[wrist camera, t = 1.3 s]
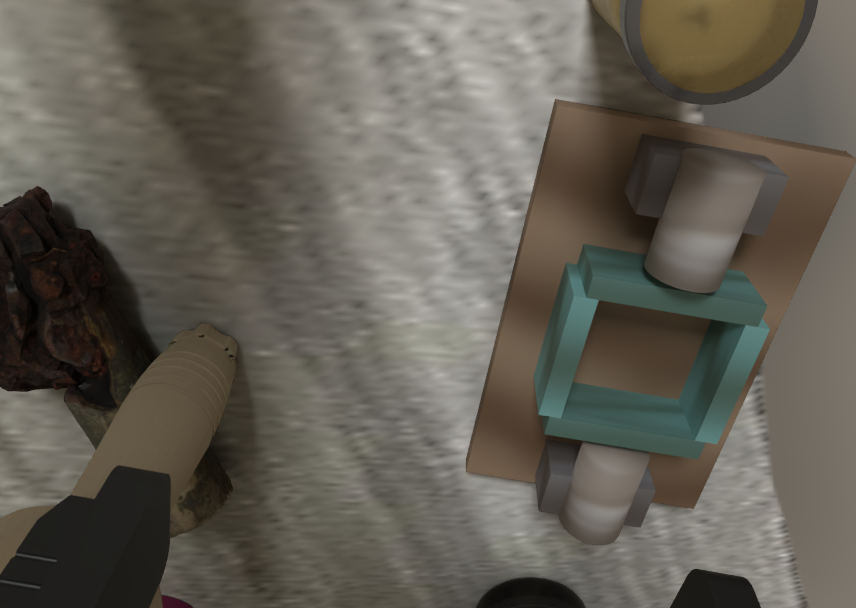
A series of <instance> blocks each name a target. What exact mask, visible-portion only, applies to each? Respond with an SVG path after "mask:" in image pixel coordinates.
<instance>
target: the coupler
mask: <svg viewBox="0 0 856 608" xmlns="http://www.w3.org/2000/svg"><path fill="white" fill-rule="evenodd" d="M591 2H592V4H593V6H594V8H595V10H596V11H597V13H598V14H599V15H600V16H601V17H602V18H603V19H604V20H605V21H606V22H607V23H608V24H609V25H610V26H611V27H612V28H613V29H614V30H615V31H616V32H617V33H618V34H619V35H620V36H621V37H622V39H623V43H624V46H625V49H626V51H627V53H628V55H629V57H630V59H631V60H632V62H633V63H634V65H635V66H636V67H637V68H638V70H639V71H640V72H641V73H642V74H643V75H644V76H645V77H646V78H647V79H648V80H649V81H650V83H651V84H652V85H654V86H655V87H656V88H657V89H659V90H660V91H661V92H663V93H665V94H666V95H668V96H670V97H672V98H675V99H677V100H679V101H683V102H687V103H692V104H701V105H707V104H709V105H710V104H719V103H726V102H730V101H733V100H737V99H739V98H742V97H744V96H747V95H749V94H751V93H753V92H755V91H757V90H759V89H760V88H762V87H763V86H765V85H766V84H768V83H769V82H770V81H772V80H773V79H774V78H775V77H776V76H778V74H780V73H781V72H782V71H783V70H784V69H785V68H786V67H787V66H788V65H789V63H790V62H791V61H792V60H793V58H794V57H795V56H796V54H797V53H798V52H799V50H800V48H801V47H802V45H803V43H804V42H805V40H806V38H807V35H808V33H809V31H810V29H811V26H812V23H813V20H814V17H815V13H816V8H817V3H818V0H591Z"/></svg>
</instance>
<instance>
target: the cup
mask: <svg viewBox="0 0 856 608" xmlns="http://www.w3.org/2000/svg"><path fill="white" fill-rule="evenodd" d="M161 597H162V604H163V608H193V607H191V606H190V605H188V604H187V603H185V602H183V601H181V600H179V599H175V598H172V597H168V596H162V595H161Z"/></svg>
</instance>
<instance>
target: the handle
mask: <svg viewBox="0 0 856 608" xmlns="http://www.w3.org/2000/svg"><path fill="white" fill-rule="evenodd" d="M168 346H169V347H168V348H167V349H166V350H164V351H163V352H162V353H161V354H160V355H159V356H158V357H157V358H156V359H155V360H154V361H153V362H152V364H151V365H150V366H149V367H148V368H147V369H146V371H145V372H144V373H143V374H142V375H141V377H140V378H139V380H138V381H137V382H136V384H135V385H134V386H133V388H132V389H131V391H130V392H129V394H128V395H127V397H126V399H125V400H124V401H123V403H122V405H121V407H120V408H119V410H118V412H117V414H116V416H115V417H114V419H113V421H112V423H111V425H110V426H109V428H108V430H107V432H106V434H105V435H104V437H103V439H102V441H101V442H100V444H99V446H98V448H97V450H96V451H95V453H94V455H93V457H92V459H91V460H90V462H89V464H88V466H87V467H86V469H85V471H84V472H83V474H82V476H81V477H80V479H79V481H78V483H77V484H76V486H75V488H74V489H73V491H72V493H71V495H75V496H80V497H86V498H92V499H95V497H96V496H97V494H98V492H99V491H100V489H101V487H102V486H103V484H104V482H105V481H106V479H107V477H108V476H109V474H110V473H111V471H112V470H113V469H114V468H115V467H116V466H118V465H121V466H127V467H133V468H138V469H144V470H150V471H155V472H161V473H167V474H169V475H170V479H171V501H170V512H171V510H172V508H173V507H174V505H175V503H176V501H177V499H178V498H179V496H180V494H181V493H182V491H183V489H184V487H185V486H186V484H187V482H188V481H189V479H190V477H191V476H192V474H193V472H194V470H195V469H196V467H197V465H198V464H199V462H200V460H201V458H202V457H203V455H204V453H205V452H206V450H207V448H208V447H209V444H210V442H211V440H212V438H213V436H214V434H215V432H216V430H217V428H218V425H219V423H220V421H221V418H222V416H223V413H224V410H225V408H226V405H227V402H228V399H229V395H230V392H231V387H232V383H233V381H234V379H235V375H236V372H237V364H236V362H235V357H236V354H237V351H238V345H237V343H236V341H235V340H234V339H233V338H232V337H231V336H226V335H224V334H222V333H220V332H218V331H217V330H216V329H214V328H213V327H212V325H210V324H200V325H199V326H198V327H197V328H196V329H194V330H183V331H181V332H180V333H179V334H178V335H177V336H176V337H175V338H174V339H173V340H172V341H171V342H170V344H169V345H168ZM53 507H55V506H35V507H29V508H25V509H21V510H17V511H15V512H13V513H10V514H8V515H6V516H5V517H3V518H2V519H0V574H1V573H2V571H3V570H4V568H5V567H6V565H7V564H8V562H9V561H10V559H11V558H12V557H15V555H16V550H17V549H18V547H19V546H20V545H21V543H22V542H23V540H24V539H25V537H26V536H27V534H28V533H29V531H30V530H31V528H32V527H33V525H34V524H35V522H36V521H37V520H38V519H39V518H40V517H41V516H43V515H44V514H45V513H47V512H48V511H49V510H51V509H52V508H53ZM149 608H163V604H162V597H161V592H160V587H158V589H157V591H156V594H155V596H154V598H153V600H152V603H151V605H150V607H149Z"/></svg>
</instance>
